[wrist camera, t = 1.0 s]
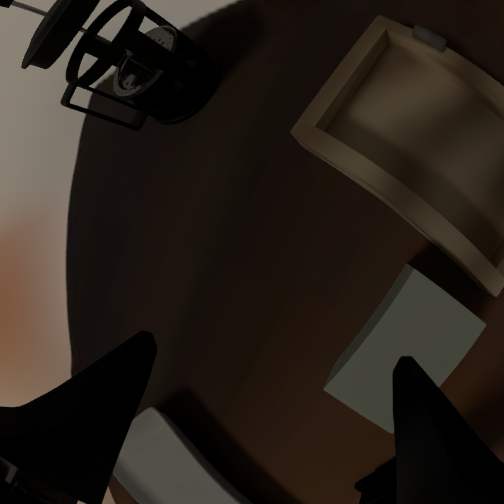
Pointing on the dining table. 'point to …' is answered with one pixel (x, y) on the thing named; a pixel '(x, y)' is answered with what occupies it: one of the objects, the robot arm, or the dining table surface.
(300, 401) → the dining table surface
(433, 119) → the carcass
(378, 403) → the grey faceted block
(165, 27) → the french press
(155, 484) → the square plate
